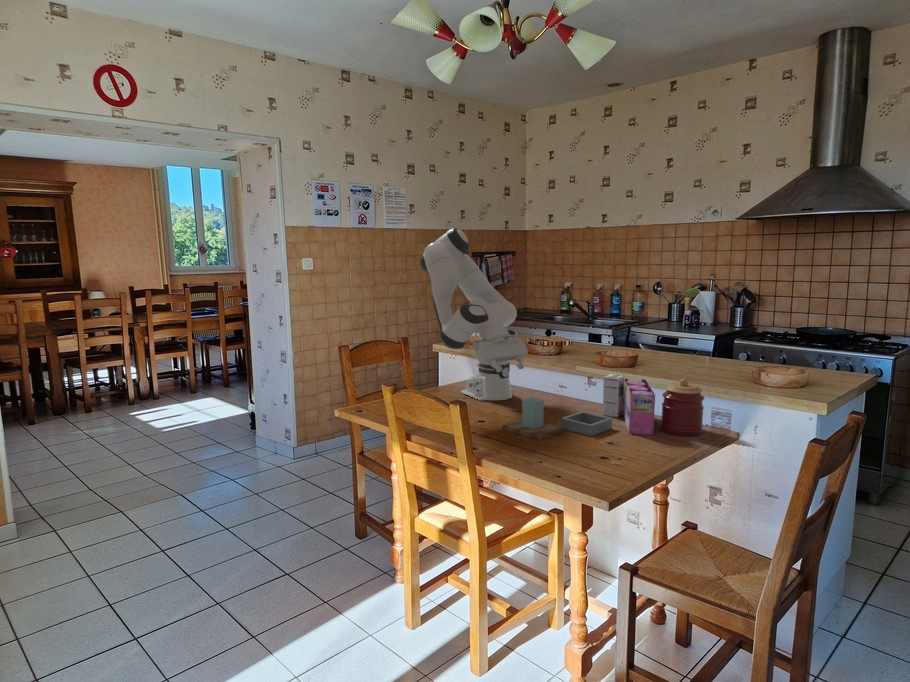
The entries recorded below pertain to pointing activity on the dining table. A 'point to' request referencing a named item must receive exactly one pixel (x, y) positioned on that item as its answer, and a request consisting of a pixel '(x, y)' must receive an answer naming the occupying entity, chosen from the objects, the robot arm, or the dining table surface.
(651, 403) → the gum box
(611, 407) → the syrup box
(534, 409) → the teal block
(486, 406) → the dining table surface
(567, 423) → the parts bin
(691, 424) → the canister
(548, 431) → the walnut board
